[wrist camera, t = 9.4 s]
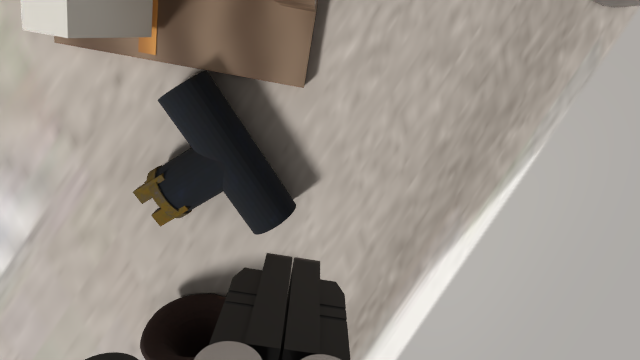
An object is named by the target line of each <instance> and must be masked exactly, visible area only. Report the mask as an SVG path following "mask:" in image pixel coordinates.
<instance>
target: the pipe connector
mask: <svg viewBox="0 0 640 360" xmlns="http://www.w3.org/2000/svg"><path fill="white" fill-rule="evenodd" d="M158 101H159V103H160V104H161V106H162V107H163V108H164V110H165V111H166V112H167V114H168V115H169V117H170V118H171V119H172V121H173V122H174V124H175V125H176V126H177V128H178V129H179V130H180V132H181V133H182V135H183V136H184V137H185V139H186V140H187V142H188V143H189V144H190V146H191V147H192V148H191V149H189V150H187V151H186V152H184V153H182V154H181V155H179V156H178V157H176V158H174V159H173V160H171V161H169V162H168V163H166V164H165V165H163V166H158V167H157V168H155V169H153V170H152V171H150V172H149V173H148V176H147V181H146V182H144V183H145V184H143V185H142V186H140V187H138V188H137V189H136V190H135V191H134V192H133V193H134V194H135V196H136V197H137V198H138V199H139V201H140V202H141V203H142V204H143V203H144V202H146V201H148V200H149V199H151V198H153V199H154V201H155V202H156V203H157V205H158V206H159V207H160V208H158V209H157V210H156V211H155V212H154V213H153V214H152V217H153V218H154V219H155V220H156V222H157V223H158V224H159V225H160V226H162V225H164V224H165V223H167V222H169V221H171V220H172V219H174V218H181V217H183V216H185V215H187V214H188V213H190V212H191V211H192V209H194V208H195V207H197V206H199V205H201V204H202V203H204V202H206V201H207V200H209V199H211V198H213V197H214V196H216V195H218V194H219V193H221V192H223V191H224V193H225V194H226V196H227V197H228V198H229V200H230V201H231V202H232V204H233V205H234V207H235V208H236V209H237V211H238V212H239V214H240V215H241V216H242V218H243V219H244V220H245V222H246V223H247V225H248V226H249V227H250V229H251V230H252V231H253V233H254V234H262V233H265V232H268V231H270V230H271V229H273V228H275V227H277V226H278V225H279V224H281V223H282V222H283V221H285V220H286V219H287V218H288V217H289V216H290V215H291V214H292V213H293V211H294V210H295V208H296V204H295V202H294V201H293V199H292V198H291V196H290V195H289V193H288V192H287V190H286V189H285V187H284V186H283V184H282V183H281V181H280V180H279V178H278V177H277V175H276V174H275V172H274V171H273V169H272V168H271V166H270V165H269V163H268V162H267V160H266V159H265V157H264V156H263V154H262V153H261V151H260V150H259V148H258V147H257V145H256V144H255V142H254V141H253V139H252V138H251V136H250V135H249V133H248V132H247V130H246V129H245V127H244V126H243V124H242V123H241V121H240V120H239V118H238V117H237V115H236V114H235V112H234V111H233V109H232V108H231V106H230V105H229V103H228V102H227V100H226V99H225V97H224V96H223V94H222V93H221V91H220V90H219V88H218V87H217V85H216V84H215V82H214V81H213V79H212V78H211V76H210V75H209V73H208V72H207V70H206V71H203V72H201V73H199V74H197V75H195V76H193V77H192V78H190V79H188V80H186V81H185V82H183V83H181V84H180V85H178V86H177V87H175V88H174V89H172V90H170V91H169V92H168V93H166V94H165V95H163V96H162V97H161V98H159V99H158Z"/></svg>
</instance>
